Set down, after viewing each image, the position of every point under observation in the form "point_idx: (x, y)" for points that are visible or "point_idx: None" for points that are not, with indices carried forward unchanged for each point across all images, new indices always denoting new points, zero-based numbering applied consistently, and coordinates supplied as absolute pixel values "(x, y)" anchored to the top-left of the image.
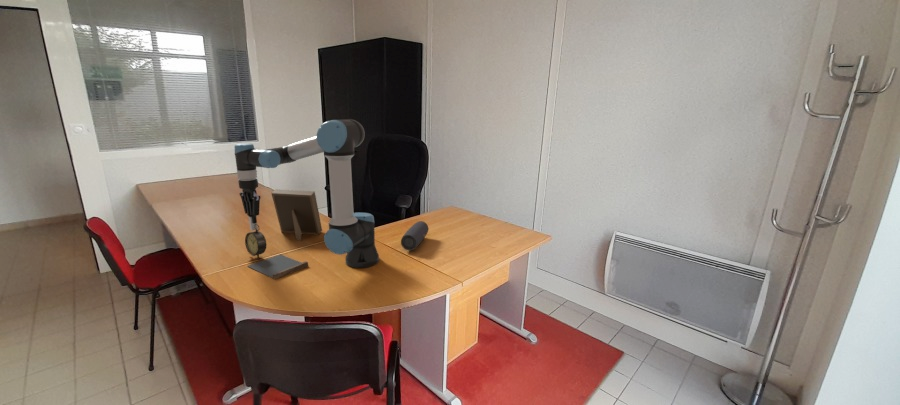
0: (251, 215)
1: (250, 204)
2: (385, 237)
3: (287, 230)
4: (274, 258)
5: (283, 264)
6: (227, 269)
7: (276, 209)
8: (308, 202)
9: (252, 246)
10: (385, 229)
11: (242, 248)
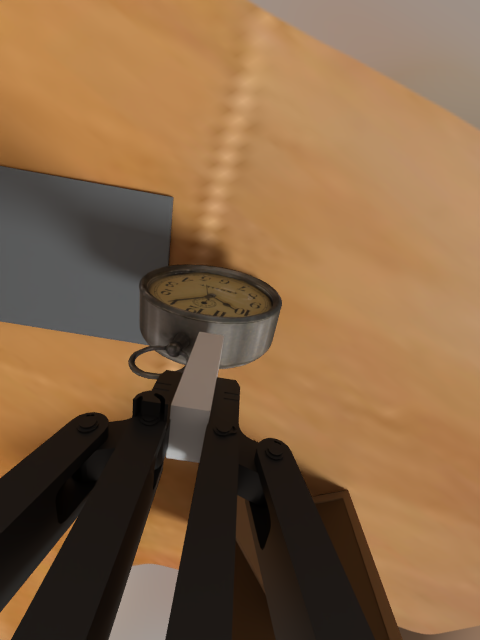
0: (138, 419)
1: (19, 631)
2: None
3: (324, 502)
4: None
5: (59, 281)
6: (226, 124)
7: (385, 609)
8: None
9: (219, 289)
10: None
11: (365, 328)
